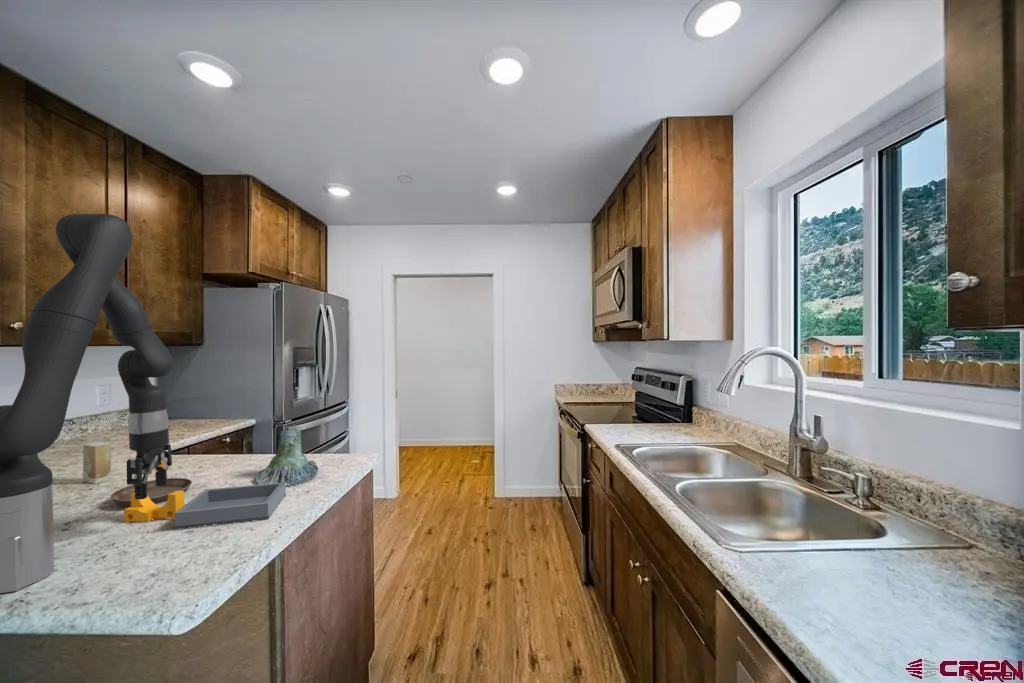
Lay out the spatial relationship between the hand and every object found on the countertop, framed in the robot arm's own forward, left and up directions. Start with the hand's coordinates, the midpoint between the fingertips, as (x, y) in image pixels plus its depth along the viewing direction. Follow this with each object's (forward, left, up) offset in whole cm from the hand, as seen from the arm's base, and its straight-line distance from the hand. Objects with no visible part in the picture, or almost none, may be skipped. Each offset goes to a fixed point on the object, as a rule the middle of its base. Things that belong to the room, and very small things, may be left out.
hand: (151, 492), depth 104 cm
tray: (0, -19, -7) cm, 20 cm away
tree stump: (+25, -25, -7) cm, 36 cm away
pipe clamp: (+1, 0, -8) cm, 8 cm away
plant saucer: (+18, +8, -8) cm, 21 cm away
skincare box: (+40, +34, -7) cm, 53 cm away
